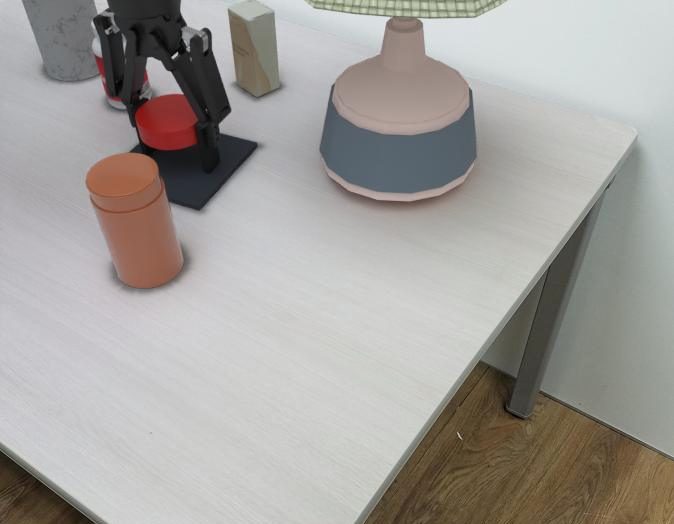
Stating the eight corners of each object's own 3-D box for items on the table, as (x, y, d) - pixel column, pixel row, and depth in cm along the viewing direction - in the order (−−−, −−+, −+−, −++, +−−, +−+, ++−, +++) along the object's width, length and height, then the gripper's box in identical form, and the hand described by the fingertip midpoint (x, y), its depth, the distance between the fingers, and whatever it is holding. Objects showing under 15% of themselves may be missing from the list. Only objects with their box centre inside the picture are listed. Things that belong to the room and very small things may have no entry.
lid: (190, 103, 88) (186, 86, 86) (222, 133, 83) (219, 115, 82) (128, 126, 85) (123, 108, 83) (158, 158, 80) (153, 140, 78)
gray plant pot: (121, 50, 107) (98, -34, 98) (96, 83, 101) (69, -4, 92) (62, 46, 108) (34, -38, 99) (34, 78, 102) (2, -8, 93)
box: (235, 84, 100) (224, 6, 91) (260, 73, 102) (251, -4, 93) (257, 99, 97) (248, 19, 89) (282, 87, 99) (275, 9, 91)
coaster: (102, 181, 86) (101, 177, 85) (166, 122, 94) (165, 118, 93) (199, 210, 82) (198, 206, 81) (257, 146, 90) (257, 142, 89)
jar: (103, 277, 75) (67, 185, 66) (142, 235, 79) (114, 144, 70) (159, 296, 73) (131, 204, 64) (196, 253, 77) (174, 161, 68)
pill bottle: (107, 91, 99) (84, 13, 91) (150, 84, 100) (131, 6, 92) (109, 114, 95) (85, 35, 87) (154, 107, 96) (135, 28, 88)
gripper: (29, -36, 71) (94, 155, 88) (207, -2, 65) (239, 196, 82) (76, -63, 75) (129, 124, 92) (247, -33, 69) (269, 160, 86)
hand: (181, 157), depth 87 cm, fingers closed on lid, 8 cm apart
